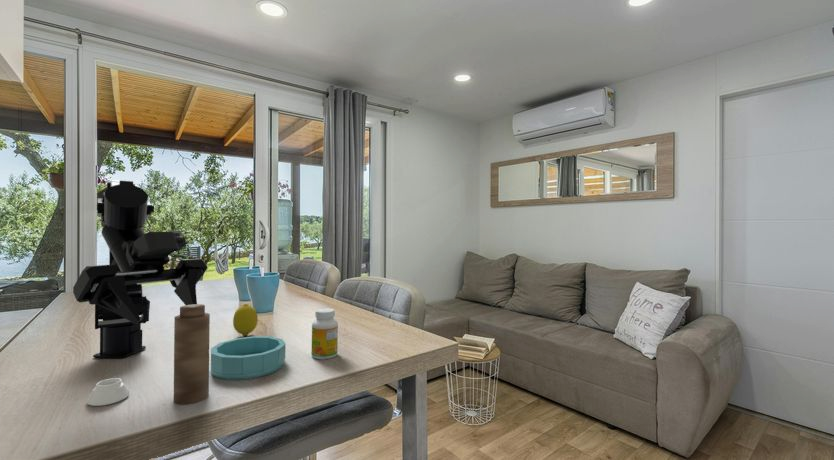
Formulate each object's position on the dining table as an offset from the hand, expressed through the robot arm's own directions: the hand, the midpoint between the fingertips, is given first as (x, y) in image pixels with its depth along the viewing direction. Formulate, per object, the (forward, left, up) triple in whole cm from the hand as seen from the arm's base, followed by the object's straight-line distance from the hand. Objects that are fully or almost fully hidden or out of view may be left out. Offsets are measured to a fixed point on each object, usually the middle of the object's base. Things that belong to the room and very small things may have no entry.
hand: (168, 315), depth 62 cm
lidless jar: (-7, -4, -13) cm, 15 cm away
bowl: (+9, +11, -12) cm, 19 cm away
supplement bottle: (+22, +18, -12) cm, 31 cm away
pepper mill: (+6, -2, -12) cm, 14 cm away
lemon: (-1, +31, -12) cm, 34 cm away
